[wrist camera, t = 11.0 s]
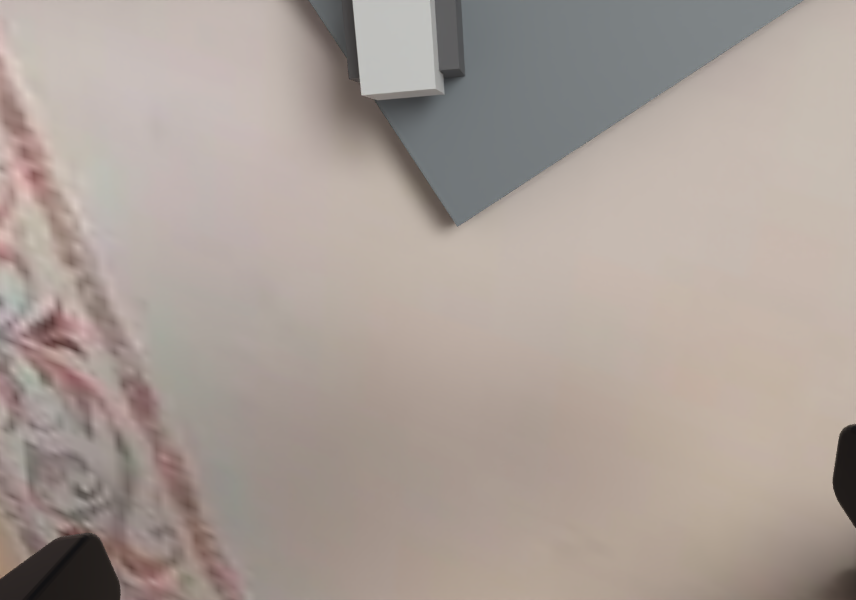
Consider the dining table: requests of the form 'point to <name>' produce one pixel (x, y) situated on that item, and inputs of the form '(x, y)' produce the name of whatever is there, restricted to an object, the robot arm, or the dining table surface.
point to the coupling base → (522, 75)
